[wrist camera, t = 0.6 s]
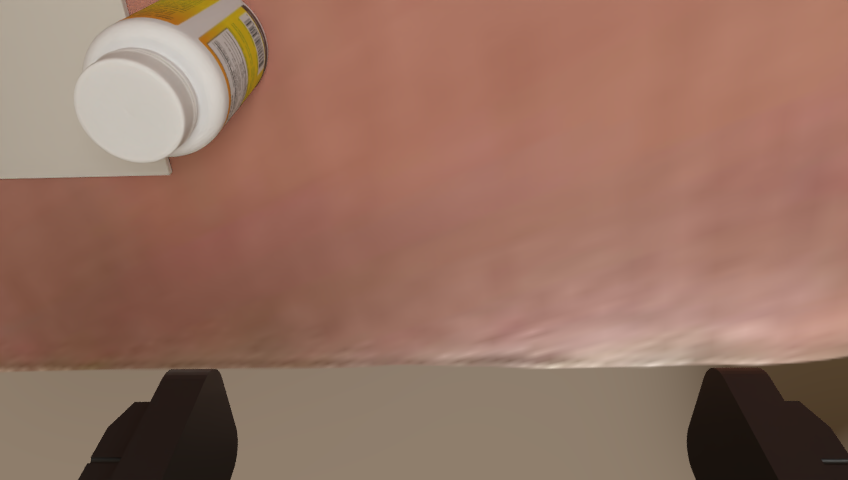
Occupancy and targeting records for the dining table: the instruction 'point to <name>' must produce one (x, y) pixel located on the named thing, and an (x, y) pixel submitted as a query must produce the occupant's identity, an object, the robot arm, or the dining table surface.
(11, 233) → the dining table surface
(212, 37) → the supplement bottle
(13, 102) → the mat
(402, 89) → the dining table surface
